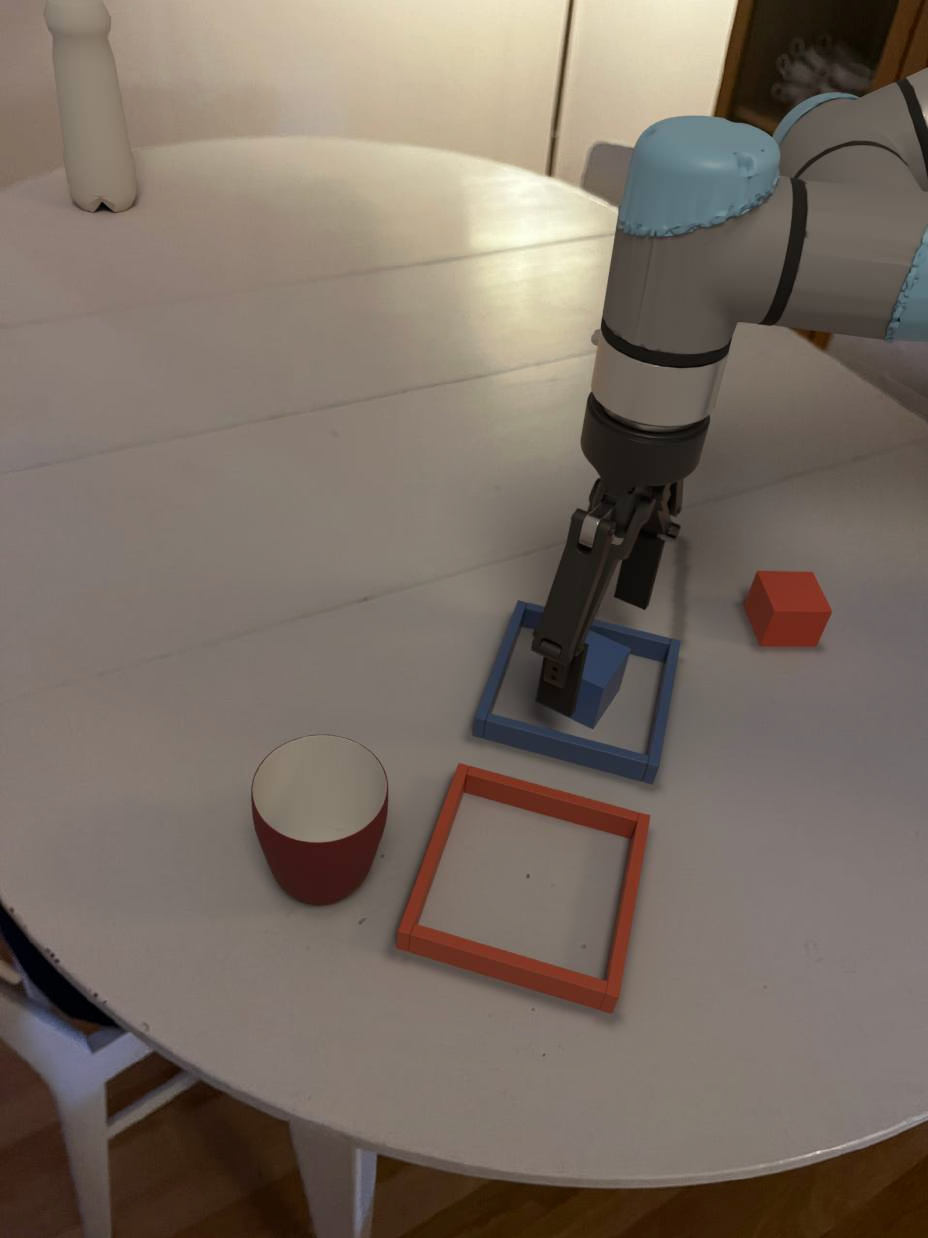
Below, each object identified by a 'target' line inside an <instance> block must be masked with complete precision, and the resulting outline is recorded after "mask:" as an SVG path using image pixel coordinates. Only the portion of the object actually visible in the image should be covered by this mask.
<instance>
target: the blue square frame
mask: <svg viewBox="0 0 928 1238" xmlns="http://www.w3.org/2000/svg"><path fill="white" fill-rule="evenodd" d="M544 608H545V605H539V604H535V603H531V602H527V601H524V600H520V599H518V600H516V604H515V606H514V609H513V612H512V615H511V617H510V620H509V623H508V626H507V629H506V631H505V633H504V636H503V638H502V642H501V645H500V649H499V651H498V654H497V656H496V658H495V661H494V664H493V667H492V670H491V672H490V675H489V678H488V681H487V683H486V686H485V689H484V691H483V694H482V697H481V700H480V702H479V705H478V708H477V711H476V715H475V717H474V723H473V729H472V737H475V738H478V739H483V740H486V741H490V742H493V743H497V744H500V745H504V746H508V747H512V748H516V749H519V750H523V751H526V752H530V753H534V754H537V755H541V756H545V757H549V758H553V759H555V760H560V761H563V762H567V763H570V764H574V765H578V766H581V767H585V768H589V769H593V770H597V771H600V772H604V773H608V774H612V775H616V776H619V777H623V778H626V779H630V780H634V781H636V782H637V781H638V782H642V783H644V784H647V785H652V786H653V785H654V784H655V783H654V782H655V781H656V777H657V775H658V770H659V769H660V763H661V758H662V752H663V746H664V740H665V736H666V729H667V724H668V719H669V712H670V707H671V706H670V705H671V700H672V695H673V689H674V683H675V678H676V671H677V666H678V661H679V654H680V650H681V649H680V648H681V643H682V641H681V640H680V639H677V638H672V637H668V636H664V635H660V634H659V635H658V634H655V633H650V632H647V631H643V630H640V629H636V628H632V627H627V626H624V625H619V624H616V623H611V622H608V621H603V620H600V619H596V618H595V619H594V621H593V623H592V626H591V628H590V630H591V631H593V632H595V633H597V634H599V635H602V636H604V637H606V638H608V639H611V640H613V641H615V642H617V643H619V644H622V645H624V646H626V647H628V648H630V649H631V651H630V654H629V655H632V656H636V657H640V658H644V659H647V660H652V661H656V662H659V663H663V667H662V673H661V678H660V683H659V688H658V694H657V699H656V704H655V710H654V716H653V721H652V726H651V727H652V728H651V731H650V736H649V743H648V748H647V752H646V754H645V753H640V752H637V751H633V750H629V749H625V748H622V747H618V746H614V745H610V744H606V743H603V742H599V741H596V740H591V739H587V738H584V737H581V736H577V735H573V734H570V733H565V732H561V731H558V730H556V729H555V730H554V729H550V728H546V727H543V726H541V725H540V726H539V725H536V724H532V723H528V722H524V721H520V720H517V719H513V718H509V717H506V716H502V715H498V714H494V713H493V710H494V708H495V705H496V702H497V699H498V697H499V693H500V691H501V688H502V684H503V682H504V679H505V677H506V673H507V670H508V667H509V664H510V662H511V660H512V659H511V658H512V656H513V653H514V651H515V648H516V644H517V641H518V639H519V636H520V633H521V630H522V628H526V629H530V630H533V631H534V629H538V626H539V623H540V620H541V617H542V614H543V611H544Z"/></svg>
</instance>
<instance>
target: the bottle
mask: <svg viewBox="0 0 928 1238" xmlns="http://www.w3.org/2000/svg"><path fill="white" fill-rule="evenodd" d="M42 12H43V13H42V17H43V19H44V22H45V24H46V28H47V30H48V31H49V33H50V35H51V36H52V52H51V53H52V55H51V57H52V64H53V72H54V79H55V89H56V96H57V105H58V111H59V120H60V126H61V127H60V128H61V136H62V143H63V152H62V159H63V165H64V169H65V175H66V180H67V184H68V188H69V195H70V197H71V198H72V200H73V201H74V202H75V203H76V204H77V205H78V207H79V208H81V209H82V210H84V211H85V212H91V213H94V212H95V211H97V210H98V209H99V208H100V205H102V204H101V203H103V204H104V205H106V207H107V208H109V209H110V210H111V211H112V212H113V213H120V212H125V211H127V210H128V209H130V208H131V207H132V205H133V203H134V201H135V199H136V195H137V187H138V186H137V185H138V180H137V170H136V161H135V157H134V155H133V154H134V153H133V151H132V148H131V144H130V138H129V133H128V127H127V122H126V121H127V120H126V115H125V111H124V104H123V99H122V94H121V92H122V91H121V87H120V82H119V75H118V70H117V64H116V58H115V55H114V53H113V50H112V49H113V48H112V46H111V43H110V40H109V34H110V33H111V29H112V16H111V15H110V13H109V11H108V9H107V7H106V5H105V3H104V1H103V0H46V1H45V5H44V9H43V11H42Z"/></svg>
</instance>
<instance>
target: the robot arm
mask: <svg viewBox="0 0 928 1238" xmlns="http://www.w3.org/2000/svg"><path fill="white" fill-rule="evenodd" d="M617 209H618V210H617V212H618V213H617V217H616V218H617V219H616V225H615V231H614V238H613V244H612V249H611V250H612V251H611V257H610V262H609V269H608V275H607V281H606V289H605V295H604V300H603V301H604V302H603V308H602V315H601V320H600V328H598V329H595V330H594V332H593V333H592V335H591V336H590V342H591V344H592V345H594V346H596V353H595V358H594V362H593V369H592V370H593V371H592V376H591V382H590V392H589V394H588V396H587V399H586V404H585V410H584V415H583V423H582V428H581V434H580V448H581V451H582V454H583V455H584V457H585V459H586V461H587V462H588V463H589V464H590V465H591V466H592V467H593V469H594V470H595V471H596V473H597V474H598V476H599V477H597V478H596V480H595V481H594V483H593V485H592V488H591V490H590V493H589V496H588V502H589V505H588V507H587V510H585V509H582V508H580V507H577V508H576V509H575V510H574V511H573V513H572V515H571V518H570V524H569V528H568V533H567V538H566V542H565V545H564V549H563V552H562V555H561V558H560V560H559V564H558V567H557V569H556V573H555V575H554V578H553V581H552V583H551V584H552V585H551V587H550V590H549V592H548V596H547V598H546V599H547V600H546V602H545V605H544V607H545V608H544V611H543V614H542V617H541V620H540V623H539V626H538V629H534V630H533V631H532V638H533V639H532V640H531V646H530V650H531V652H533V653H535V654H537V655H540V656H542V657H543V658H542V664H541V669H542V670H540V674H541V675H539V679H540V681H539V680H538V684H539V687H538V686H537V689H538V693H537V692H536V694H537V699H536V698H535V699H536V701H537V702H539V703H542V704H544V705H546V706H548V707H550V708H552V709H554V710H556V711H558V712H561V713H563V714H565V715H567V716H569V717H571V715H572V714H573V712H574V711H575V708H576V703H577V698H578V694H579V689H580V684H581V680H582V675H583V670H584V665H585V661H586V656H587V651H588V647H589V644H586V643H584V642H585V640H586V638H587V635H588V633H589V630H590V628H591V626H592V623H593V621H594V619H596V616H597V614H598V611H599V609H600V606H601V604H602V602H603V600H604V597H605V595H606V592H607V590H608V588H609V585H610V583H611V580H612V578H613V576H614V573H615V571H616V568H617V566H618V564H619V562H620V561H621V564H620V567H619V572H618V577H617V581H616V585H615V590H614V593H613V598H614V599H617V600H620V601H622V602H625V603H627V604H629V605H632V606H634V607H635V608H638V609H641V610H644V611H646V610H647V609H648V607H649V605H650V603H651V598H652V594H653V592H654V591H653V590H654V587H655V583H656V579H657V575H658V571H659V567H660V563H661V559H662V556H663V552H664V548H665V544H666V540H665V539H663V538H662V536H663V537H666V538H668V539H671V540H673V541H676V540H677V538H678V535H679V534H680V532H681V528H682V525H681V524H679V523H676V522H674V521H672V517H673V518H677V517H678V516H679V514H681V512H682V510H683V507H682V506H683V499H684V497H683V496H684V484H685V482H684V481H685V479H686V478H688V477H689V476H690V475H691V474H693V472H694V471H695V470H696V469H697V467H698V465H699V463H700V460H701V457H702V453H703V449H704V446H705V443H706V438H707V435H708V430H709V427H710V423H711V414H712V412H714V410H715V408H716V404H717V401H718V397H719V392H720V389H721V385H722V381H723V378H724V373H725V369H726V367H727V366H726V365H727V362H728V357H729V353H730V348H731V345H732V341H733V337H734V333H735V332H736V331H735V330H736V329H737V326H738V323H744V324H753V325H757V326H767V327H772V326H774V327H782V328H790V329H797V330H804V331H812V332H820V333H827V334H828V333H829V334H835V335H843V336H850V337H857V338H858V337H859V338H866V339H874V340H879V341H880V340H881V341H883V343H887V344H891V343H893V342H895V341H896V342H897V341H898V342H920V343H928V67H925V68H923V69H921V70H919V71H918V72H915V73H913V74H911V75H908V76H907V77H904V78H901V79H899V80H896V81H894V82H891V83H890V84H888V85H885V86H883V87H880V88H878V89H876V90H874V91H872V92H869V93H867V94H865V95H863V96H861V97H859V96H857V95H854V94H851V93H847V92H839V91H838V92H837V91H836V92H825V93H820V94H816V95H814V96H811V97H809V98H808V99H805V100H803V101H802V102H800V103H799V104H797V105H796V106H795V107H794V108H792V109H790V111H788V113H787V114H786V115H785V116H784V117H783V118H782V120H781V121H780V122H779V124H778V126H777V127H776V128H775V130H774V132H773V134H772V136H771V135H770V134H768V133H767V132H766V131H764V130H762V129H761V128H759V127H755V126H753V125H751V124H748V123H744V122H733V121H730V120H728V119H726V118H725V117H719V116H711V115H697V114H696V115H693V114H692V115H677V116H671V117H667V118H664V119H661V120H659V121H656V122H655V123H653V124H651V125H649V126H648V127H647V128H646V129H644V130H643V132H642V133H641V134H640V135H639V136H638V138H637V139H636V142H635V145H634V147H633V149H632V152H631V157H630V161H629V166H628V171H627V175H626V180H625V184H624V188H623V193H622V198H621V201H620V204H619V205H618V208H617ZM615 538H617V539H622V541H621V543H620V544H614V543H613V542H614V541H615ZM537 702H536V703H537ZM539 703H538V704H539ZM554 710H553V711H554ZM556 711H555V712H556ZM558 712H557V713H558Z"/></svg>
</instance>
